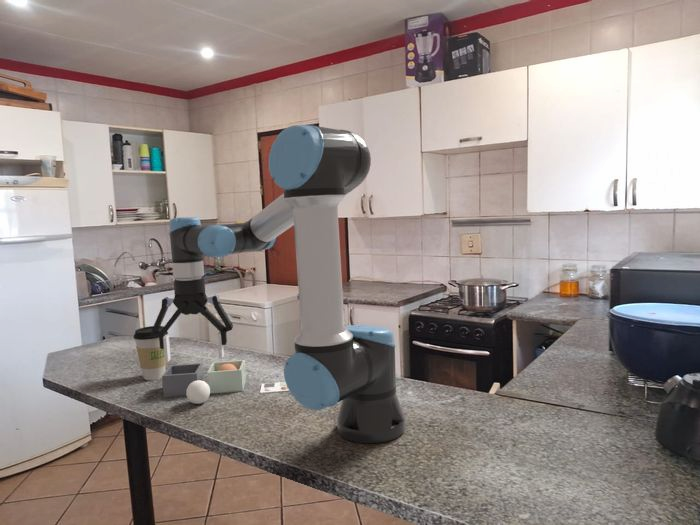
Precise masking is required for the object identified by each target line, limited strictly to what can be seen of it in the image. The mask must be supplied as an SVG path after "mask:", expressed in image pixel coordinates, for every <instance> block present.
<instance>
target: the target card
mask: <svg viewBox="0 0 700 525" xmlns="http://www.w3.org/2000/svg"><path fill="white" fill-rule="evenodd" d="M278 392H279V393H280V392H290V391H289V389H288V387H287V385H286V381H283V382H278V381H277V382H268V383H261V386H260V391H259V394H268V393H269V394H270V393H278Z"/></svg>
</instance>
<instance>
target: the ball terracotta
mask: <svg viewBox="0 0 700 525" xmlns="http://www.w3.org/2000/svg"><path fill="white" fill-rule="evenodd" d="M226 370H237V368H236V367H235V366H234V365H232V364H224V365H222V366H220V367H219V369H218V370H217V371H226Z"/></svg>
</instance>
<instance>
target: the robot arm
mask: <svg viewBox="0 0 700 525" xmlns="http://www.w3.org/2000/svg"><path fill="white" fill-rule="evenodd" d="M371 160H372V158H371V152H370V149H369V147H368V145H367V143H366V142H365V141H364V140H363V138H362V137H360V135H358V134H356V133H355V132H354V131H353V132H352V131H350V130H346V129H345V130H344V129H338V128H337V129H335V128H329V127H323V126H319V125H318V126H317V125H313V124H307V125H306V124H305V125H304V124H297V125H296V124H295V125H290V126H288V127H285V129H283V130H281V132H279V134H278V135H277V136H276V139H275V140H274V141H273V142H272V145H271V147H270V151H269V155H268V171H269V174H270V177H271V179H273V180H274V181H273V182H274V183H275V185H276V186H277V187H279V188H281V189H282V190H283V193H282V194H281V195H279V197H277V198H276V199H274V200H273V201H272V202H270V204H268V205H267V206H266V207H264V208H263V209H262V210H260V211H259V212H258V213H257V214H255V215H254V216H253V217H252V218H250V219H249V220H247V221H246V222H239V223H238V222H236V223H225V224H209V225H208V224H207V225H206V224H205V225H202V223H201V219H200V218H199V217H197V216H187V217H185V216H183V217H173V218H171V219H170V220H169V241H170V253H171V260H172V261H171V262H172V263H171V264H172V277H173V278H174V281H173V290H174V297H173V298H171V297H170V298H169V297H168V296H165V297H163V299H161V308H160V310H159V313H158V315H157V317H156V319H155V322H154V323H153V325H152V326H153V328H152V331H151V334H152V335H157V336H158V337H159V343H160V348H161V349H164V355H165V362H166V363H168V362H170V360H171V359H172V358H171V345H170V335H169V334H167V335H165V334H166V332H169V331H168V330H170V328H172V325H174V323H175V322H176V320H178V318H179V317H180V316H181V314H183V315H185V316H188V315H198V314H201V315H202V316H203V317H204V318H205V319H207V320H208V321H209V323H211V325H212V326H214V327H215V328H216V330H218V331H219V332H218V333H217V343H218V345H217V346H218V359H219V360H221V359H223V358H224V356H225V353H224V352H225V351H224V346H226V345H227V343H228V336H227V335H228V334H227V332H229V331H232V330H233V327H234V324H233V323H232V321H231V319H230V318H229V316H228V314H227V313H226V311H225V309H224V308H223V306H222V304H221V303H220V297H219V294H213V295H212V296H211V295H210V296H207V295H206V283H205V282H206V281H205V278H204V276H205V268H204V257H206V258H207V257H209V258H212V259H213V258H214V259H217V258H225V257H227V256H229V255H235V254H243V253H250V252H251V253H252V252H263V251H265V250H269V249H271V248H272V247H273V246H274V244H275V242H276V239H277V237H279V236H280V235H282V234H283V233H284V232H286V231H288V230H289V229H291V228H292V227H293V228H294V229H293V230H294V244H295V245H294V246H295V257H296V259H295V260H296V273H297V286H298V299H299V301H298V302H299V313H300V314H299V315H300V328H301V329H300V332H298V333H297V335H296V336H295V337H294V339H293V342H294V353H292V354H291V355H290V356H289V357H288V358H287V360H286V362H285V363H284V367H283V377H284V380H285V381H284V382H286V385H287V387H288V389H289V391H288V392H289V393H290V394H291V395H292V397H293V398H294V399H295V401H296V402H298V404H300V405H301V406H302V407H303V408H305V409H308V410H312V411H321V410H324V409H327V408H330V407H333V406H335V405H337V404H338V403H339V402H341V405H340V408H339V412H338V415H337V421H336V425H337V426H336V427H337V433H338V434H339V436H341V437H342V438H344V439H345V440H348V441H351V442H355V443H360V444H378V443H379V444H380V443H385V442H390V441H393V440H395V439H397V438H399V437H401V436H402V435H403V433H404V432H405V431H406V416H405V414H404V411H403V408H402V406H401V403H400V401H399V396H398V395H397V381H396V380H397V378H396V375H397V373H396V344H395V335H394V332H393V331H392V330H391V329H389V328H388V327H384V326H380V325H368V324H366V325H365V324H362V325H361V324H351V325H346V324H345V311H344V309H345V308H344V292H343V279H342V277H343V275H342V260H341V259H342V258H341V246H340V244H341V242H340V229H339V227H340V225H339V211H338V206H339V204H340V203H341V201H342V200H343V199H345V197H346V195H347V194H349V193H351V192H352V191H353V190H355V189H357V188H358V186H360V185H361V184H362V183H363V182H364V180H366V178H367V176H368V174H369V173H370V168H371V165H372V163H371V162H372V161H371ZM208 302H209V303H210V305H213V307H214V309H215V311H216V313H217V315H219V318H220V320H221V321H222V322H223V323H222V322H221V321H220V320H219V319H218V318H217V317H216V316H215V315H214V314H213V313H212V312H211V311H210V310H209V308H208V307H207V306H206V305H207V303H208ZM172 304H173V305H174V306H175V307H176V308H177V309H176V310H175V312H174V313H173V315H172V316H171V317H170V318H169V320H168V321H167V322H166V323H165V325H164V327H163V329H162V330H159V328H160V326H162V323H163V321H164V318H165V317H166V315H167V312H168V310H169V308H170V307H171V306H172Z"/></svg>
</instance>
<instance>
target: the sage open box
mask: <svg viewBox="0 0 700 525" xmlns="http://www.w3.org/2000/svg"><path fill="white" fill-rule="evenodd" d="M224 364H232V365H234V366H235V367H236V368H237V370H226V371H217V370H218V369H219V367H220V366H222V365H224ZM206 374H207V376H206V377H207V384H208V385H209V387H210V394H220V393H221V394H222V393H234V392H243V391H244V388H245V385H246V383H247V382H246V381H247V374H246V360H245V359H240V360H227V361H215V362H214V361H213V362H212V363H211V365H210V366H209V369H208V370H207V372H206Z"/></svg>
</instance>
